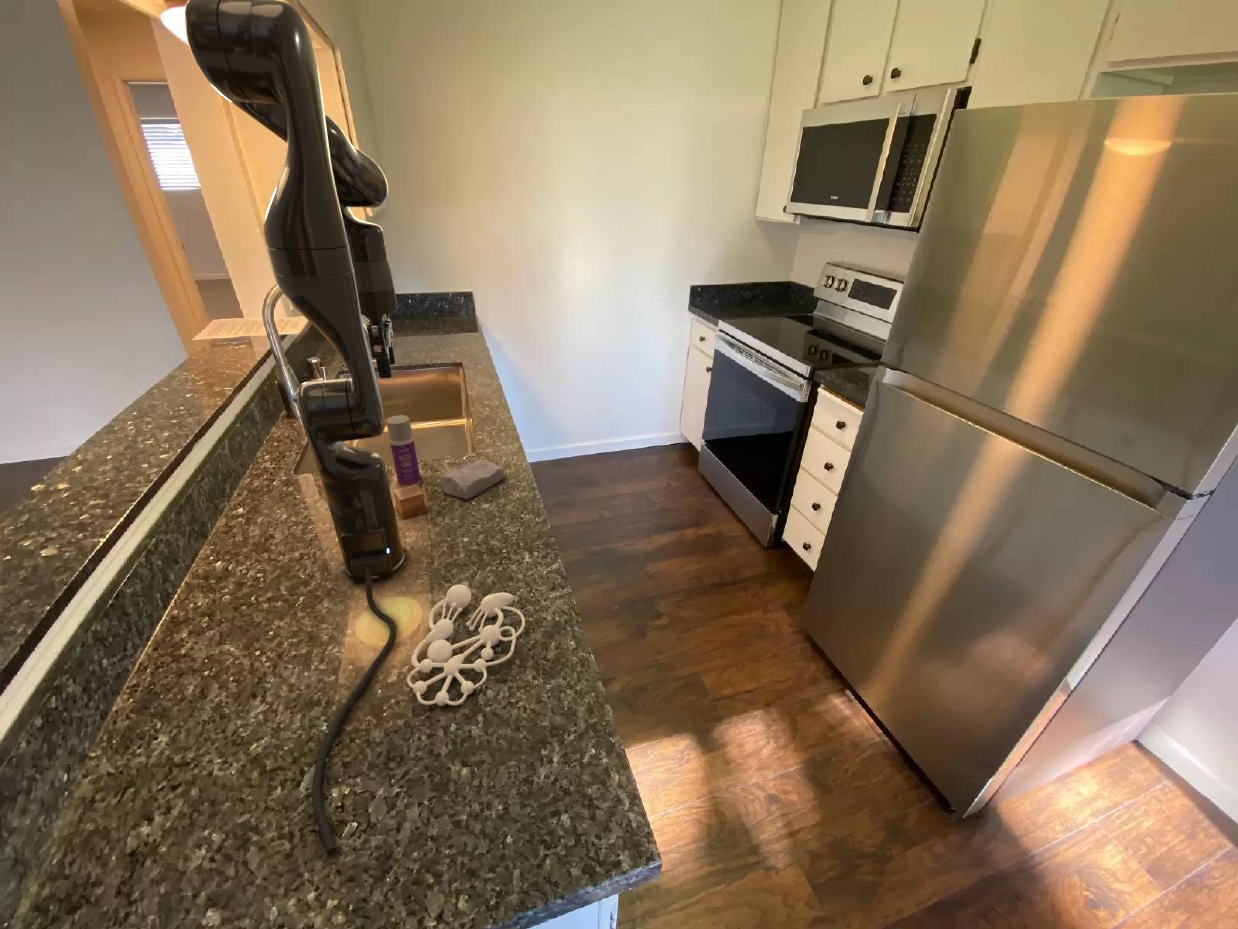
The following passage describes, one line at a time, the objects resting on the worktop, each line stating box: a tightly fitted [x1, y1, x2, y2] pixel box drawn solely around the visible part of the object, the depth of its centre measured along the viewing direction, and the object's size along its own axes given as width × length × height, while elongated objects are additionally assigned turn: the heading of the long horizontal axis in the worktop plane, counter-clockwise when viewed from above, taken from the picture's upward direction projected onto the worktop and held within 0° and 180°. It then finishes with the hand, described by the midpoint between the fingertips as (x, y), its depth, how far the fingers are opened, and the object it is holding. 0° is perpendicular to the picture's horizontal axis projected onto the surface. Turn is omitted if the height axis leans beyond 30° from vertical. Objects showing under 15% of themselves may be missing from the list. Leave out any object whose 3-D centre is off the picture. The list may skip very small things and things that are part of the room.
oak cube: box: [392, 484, 427, 520], centre depth 104 cm, size 4×4×4 cm
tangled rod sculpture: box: [406, 583, 526, 707], centre depth 73 cm, size 19×14×4 cm
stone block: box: [439, 459, 505, 501], centre depth 114 cm, size 12×5×10 cm
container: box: [385, 414, 421, 488], centre depth 111 cm, size 5×5×15 cm
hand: (387, 370), depth 103 cm, fingers open, 8 cm apart
